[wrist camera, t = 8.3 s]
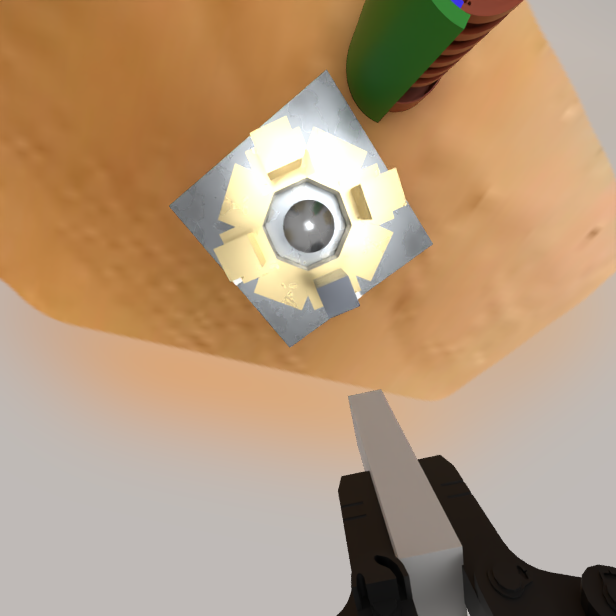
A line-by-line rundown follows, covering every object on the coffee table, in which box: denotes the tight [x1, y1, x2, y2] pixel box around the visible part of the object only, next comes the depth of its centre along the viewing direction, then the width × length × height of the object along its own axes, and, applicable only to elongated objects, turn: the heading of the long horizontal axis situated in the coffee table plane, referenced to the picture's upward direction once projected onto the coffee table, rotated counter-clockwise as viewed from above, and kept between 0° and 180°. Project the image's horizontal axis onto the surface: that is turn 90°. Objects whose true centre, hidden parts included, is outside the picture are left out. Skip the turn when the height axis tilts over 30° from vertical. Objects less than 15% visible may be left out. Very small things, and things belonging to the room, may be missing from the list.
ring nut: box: [213, 116, 407, 319], centre depth 28 cm, size 16×16×7 cm
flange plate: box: [169, 70, 433, 347], centre depth 29 cm, size 20×20×8 cm
